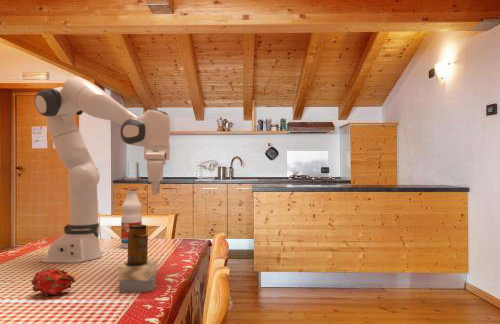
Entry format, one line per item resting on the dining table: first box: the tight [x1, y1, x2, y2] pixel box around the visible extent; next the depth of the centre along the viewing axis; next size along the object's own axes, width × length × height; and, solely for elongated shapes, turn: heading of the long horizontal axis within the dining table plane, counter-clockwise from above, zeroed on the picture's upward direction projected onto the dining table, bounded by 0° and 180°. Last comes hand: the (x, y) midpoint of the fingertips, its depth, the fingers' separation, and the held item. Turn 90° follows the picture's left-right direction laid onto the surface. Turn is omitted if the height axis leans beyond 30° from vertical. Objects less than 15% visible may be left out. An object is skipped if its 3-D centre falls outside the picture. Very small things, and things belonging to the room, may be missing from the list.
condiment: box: [123, 224, 152, 267], centre depth 118 cm, size 7×8×12 cm
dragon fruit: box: [31, 267, 77, 298], centre depth 111 cm, size 8×8×12 cm
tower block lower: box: [118, 273, 157, 294], centre depth 118 cm, size 10×10×4 cm
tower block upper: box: [118, 259, 158, 281], centre depth 118 cm, size 9×9×4 cm
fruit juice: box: [120, 187, 143, 250], centre depth 179 cm, size 9×9×28 cm
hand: (155, 194), depth 133 cm, fingers open, 8 cm apart
